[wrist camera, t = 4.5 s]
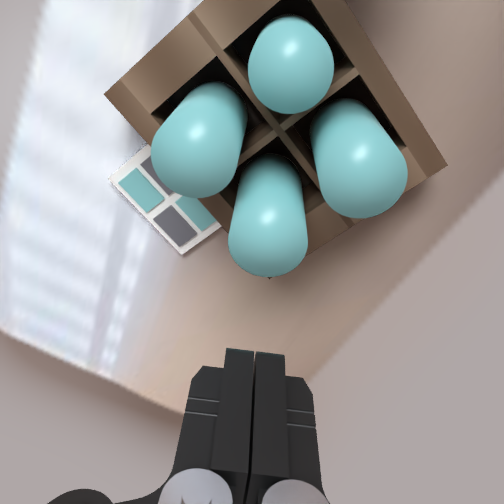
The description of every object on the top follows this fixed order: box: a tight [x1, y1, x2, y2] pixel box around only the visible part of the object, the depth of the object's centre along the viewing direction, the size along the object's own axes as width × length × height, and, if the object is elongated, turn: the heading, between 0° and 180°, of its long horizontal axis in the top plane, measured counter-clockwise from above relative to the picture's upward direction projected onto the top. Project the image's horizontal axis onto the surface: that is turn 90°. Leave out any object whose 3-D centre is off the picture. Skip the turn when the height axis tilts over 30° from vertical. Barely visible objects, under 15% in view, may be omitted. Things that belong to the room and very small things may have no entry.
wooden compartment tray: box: [104, 0, 448, 279], centre depth 27 cm, size 12×14×4 cm
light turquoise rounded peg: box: [228, 153, 308, 277], centre depth 25 cm, size 4×4×8 cm
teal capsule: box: [248, 14, 334, 114], centre depth 23 cm, size 4×4×8 cm
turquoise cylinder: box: [310, 98, 408, 218], centre depth 23 cm, size 4×4×8 cm
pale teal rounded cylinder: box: [151, 81, 248, 198], centre depth 23 cm, size 4×4×8 cm
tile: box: [108, 144, 222, 255], centre depth 31 cm, size 4×7×1 cm, turn 38°
